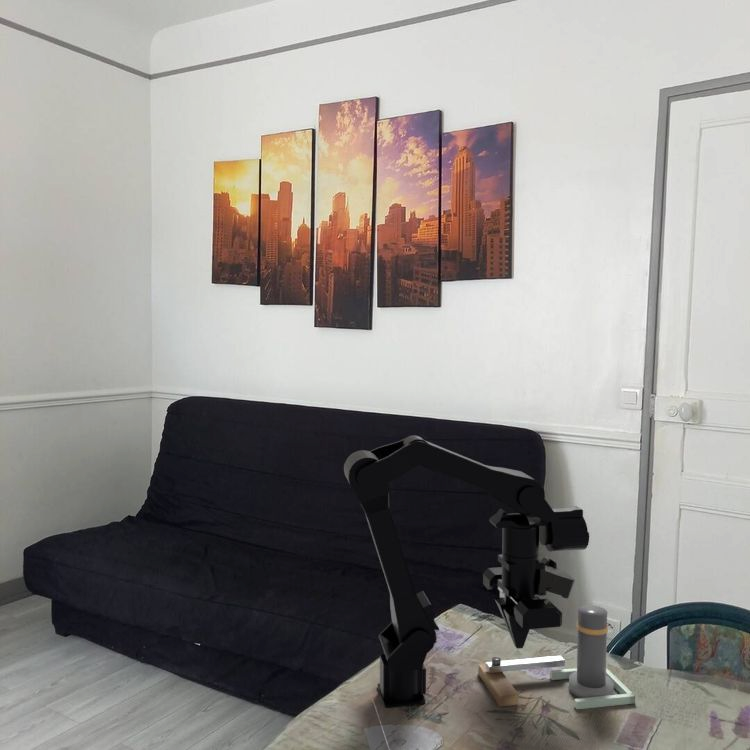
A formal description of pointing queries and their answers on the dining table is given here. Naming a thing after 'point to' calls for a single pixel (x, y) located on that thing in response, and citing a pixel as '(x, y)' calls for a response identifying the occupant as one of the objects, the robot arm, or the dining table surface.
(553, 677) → the pale green u-shaped bracket
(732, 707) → the dining table surface
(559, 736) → the dining table surface
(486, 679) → the latch rail
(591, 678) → the plug
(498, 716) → the dining table surface
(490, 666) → the lever
